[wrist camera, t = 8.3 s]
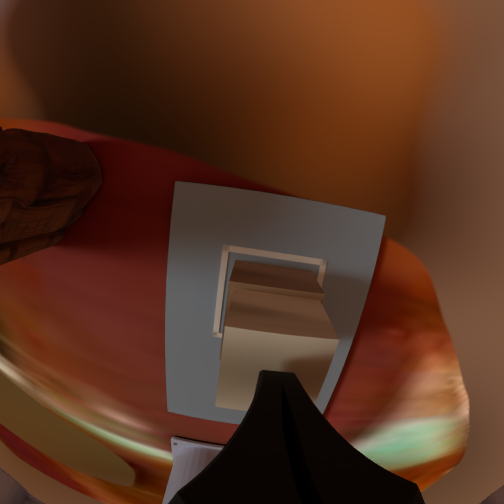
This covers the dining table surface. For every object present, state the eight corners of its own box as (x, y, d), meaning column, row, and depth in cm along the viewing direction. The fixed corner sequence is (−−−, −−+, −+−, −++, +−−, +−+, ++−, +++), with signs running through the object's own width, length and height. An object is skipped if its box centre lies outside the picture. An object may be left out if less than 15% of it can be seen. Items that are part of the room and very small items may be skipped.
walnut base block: (295, 336, 19) (303, 369, 15) (226, 327, 19) (219, 360, 15) (311, 271, 18) (325, 294, 14) (235, 259, 18) (228, 280, 14)
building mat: (314, 423, 22) (315, 429, 21) (169, 405, 22) (167, 411, 21) (381, 214, 17) (386, 216, 17) (178, 181, 17) (174, 180, 16)
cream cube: (300, 367, 15) (310, 415, 11) (224, 358, 15) (215, 406, 11) (319, 300, 14) (339, 339, 10) (234, 287, 14) (224, 326, 10)
